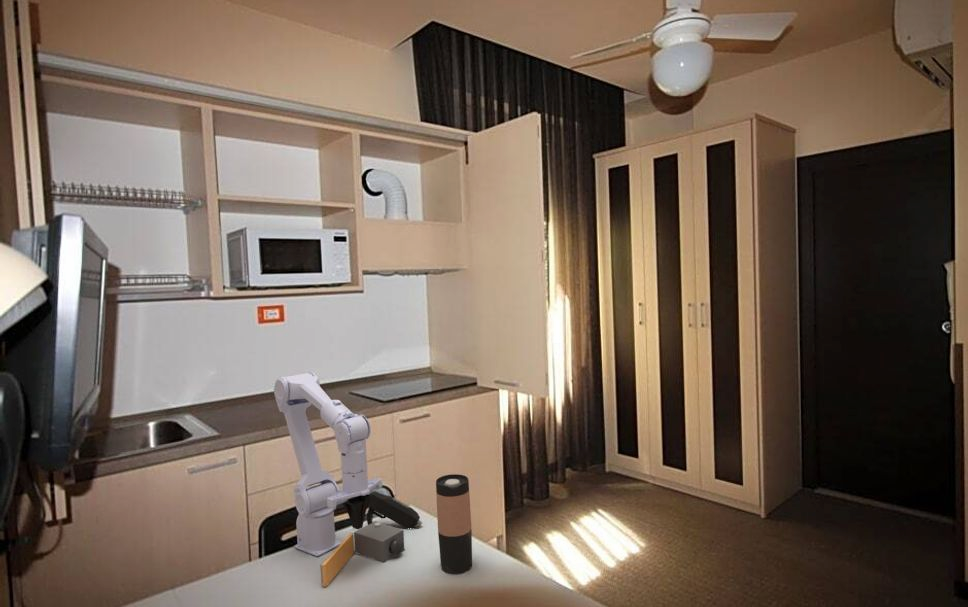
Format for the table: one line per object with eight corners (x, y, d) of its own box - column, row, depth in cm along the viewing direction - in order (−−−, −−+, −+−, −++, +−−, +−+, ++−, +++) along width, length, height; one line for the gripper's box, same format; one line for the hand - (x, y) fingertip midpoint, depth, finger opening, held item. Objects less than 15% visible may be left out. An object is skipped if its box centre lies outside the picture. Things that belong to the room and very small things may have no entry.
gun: (408, 550, 144) (423, 518, 143) (357, 520, 147) (371, 488, 146) (412, 545, 147) (426, 513, 146) (361, 516, 150) (375, 485, 148)
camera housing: (355, 552, 133) (353, 529, 132) (376, 540, 138) (375, 519, 138) (388, 564, 126) (387, 540, 126) (409, 551, 132) (408, 529, 131)
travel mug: (454, 554, 129) (449, 472, 128) (480, 563, 124) (475, 477, 124) (433, 569, 123) (428, 482, 122) (459, 578, 118) (454, 488, 118)
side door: (349, 551, 133) (348, 532, 132) (354, 551, 132) (353, 532, 132) (320, 586, 117) (319, 564, 117) (326, 586, 117) (325, 564, 117)
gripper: (340, 482, 116) (343, 544, 117) (389, 463, 128) (392, 519, 128) (319, 476, 121) (323, 536, 121) (369, 458, 132) (372, 513, 133)
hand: (357, 527), depth 125 cm, fingers closed
